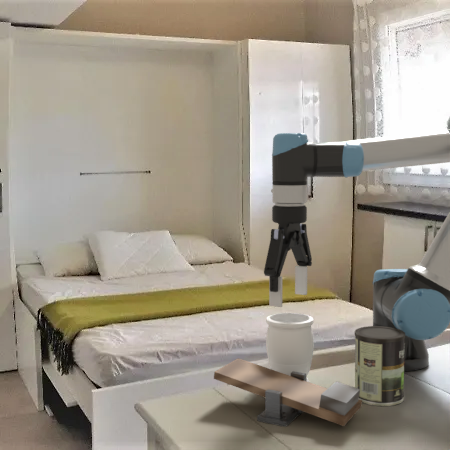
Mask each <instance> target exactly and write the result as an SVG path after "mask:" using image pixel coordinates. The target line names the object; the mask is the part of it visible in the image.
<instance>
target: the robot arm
mask: <svg viewBox="0 0 450 450" xmlns="http://www.w3.org/2000/svg"><path fill="white" fill-rule="evenodd" d="M448 130H449V129H447V130H439V131H438V130H437V131H429V132H421V133H420V132H419V133H410V134H399V135H392V136H391V135H389V136H382V137H381V136H380V137H372V138H362V139H352V140H345V141H329V142H312V141H309V139H308V135H307V134H306V133H304V132H282V133H277V134H275V135H274V136H273V138H272V152H271V153H272V154H271V156H272V157H271V158H272V159H271V160H272V161H271V163H272V164H271V167H272V168H271V169H272V170H271V171H272V175H271V177H272V180H271V181H272V188H271V190H270V192H271V193H272V203H273V204H274V205H273V206H272V208H271V210H272V211H271V213H272V214H271V221H272V222H273V223H275V224H277V225H278V227H277V228H272V229H271V230H270V240H269V246H268V250H267V255H266V260H265V265H264V269H263V274H264V276H265V277H269V278H268V279H269V280H268V281H269V285H268V286H269V287H268V290H269V291H268V292H269V294H268V295H269V296H268V299H269V300H268V302H269V306H268V307H276V308H282V307H283V275H281V274H282V271H283V267H284V265H285V262H286V258H287V256H288V252H289V251H291V252H292V254H293V257H294V260H295V261H296V265H295V267H294V283H295V284H294V294H295V295H301V296H302V295H303V296H307V295H308V267H311V266H312V264H313V263H312V253H311V248H310V243H309V239H308V233H307V232H308V231H307V223H306V222H307V220H308V219H307V218H308V212H307V211H308V210H307V209H308V208H307V206H306V205H305V204H307V202H308V178H309V177H310V178H315V177H316V178H317V177H318V178H320V177H321V178H352V177H360V176H361V174H362V172H367V171H368V172H369V171H377V170H378V171H379V170H386V169H396V168H406V167H417V166H426V165H436V164H446V163H450V134H449V131H448ZM372 326H384V327H392V328H396V329H399V330H402V331H403V332H405V342H404V346H405V347H404V372H409V371H410V372H411V371H419V370H422V369H425V368H427V367H428V366H429V357H430V355H429V352H428V351H429V350H428V349H427V345H426V342H425V341H429V340H431V339H434V338H438V337H439V336H440V335H442V333H444V332H445V331H446V329H447V328H448V327H449V326H450V211H449V212H448V214H447V216H446V217H445V219H444V221H443V223H442V224H441V226H440V228H439V230H438V231H437V233H436V235H435V236H434V238H433V239H432V242H431V243H430V245H429V247H428V248H427V249H426V252H425V253H424V255H423V257H422V259H421V260H420V262H419V263H418V264H415V265H411V266H409V267H408V268H390V269H389V268H388V269H387V268H385V269H384V268H383V269H377V270H376V271H375V272H374V273H373V281H372Z"/></svg>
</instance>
